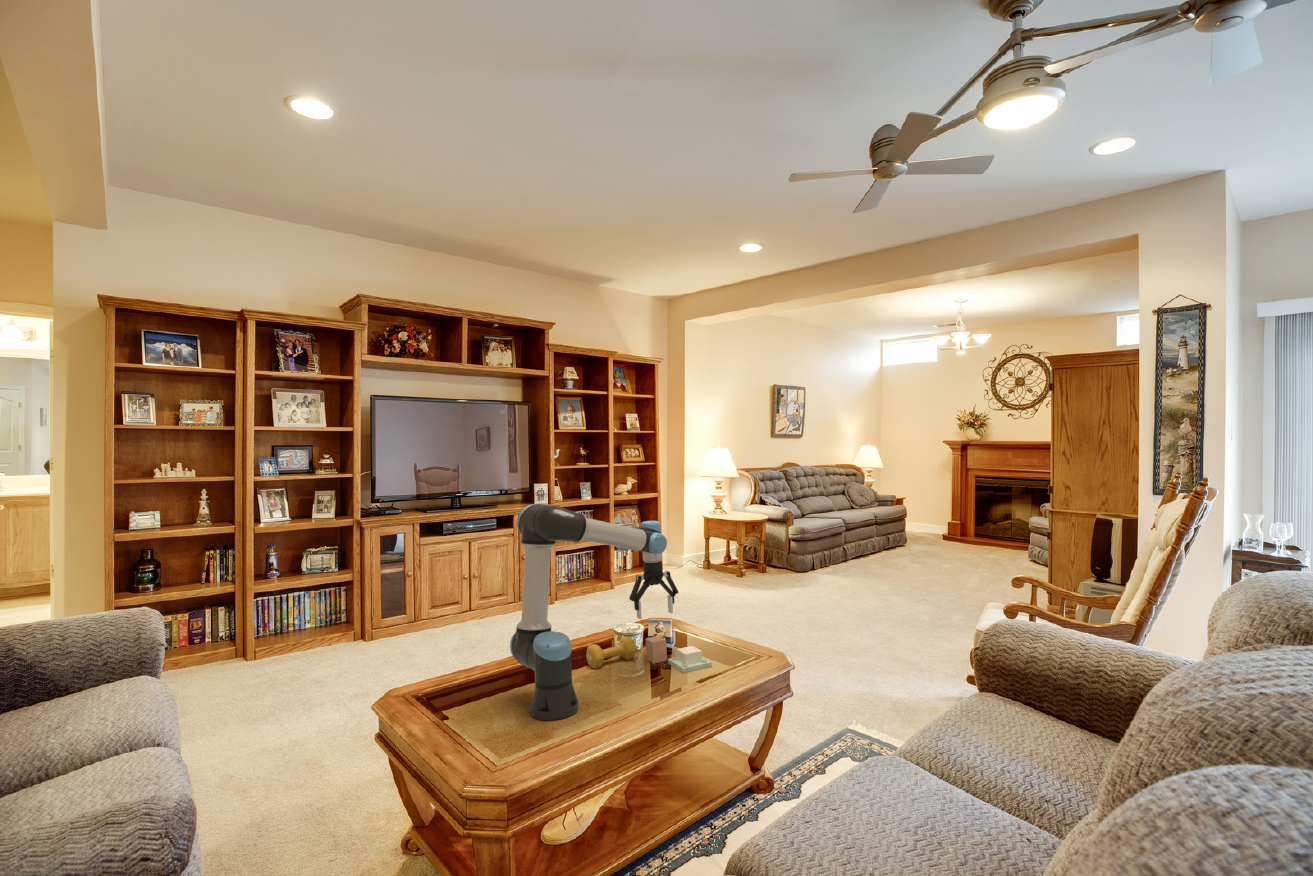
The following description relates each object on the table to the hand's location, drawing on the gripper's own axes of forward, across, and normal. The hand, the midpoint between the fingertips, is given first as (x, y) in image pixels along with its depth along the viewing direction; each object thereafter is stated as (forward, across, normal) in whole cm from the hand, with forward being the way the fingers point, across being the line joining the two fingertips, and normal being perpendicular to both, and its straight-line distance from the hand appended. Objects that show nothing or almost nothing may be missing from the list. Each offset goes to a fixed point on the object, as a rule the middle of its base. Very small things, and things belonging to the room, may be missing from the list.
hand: (655, 615), depth 235 cm
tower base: (+17, +8, -12) cm, 22 cm away
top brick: (+17, 0, 0) cm, 17 cm away
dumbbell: (+17, -16, +7) cm, 25 cm away
